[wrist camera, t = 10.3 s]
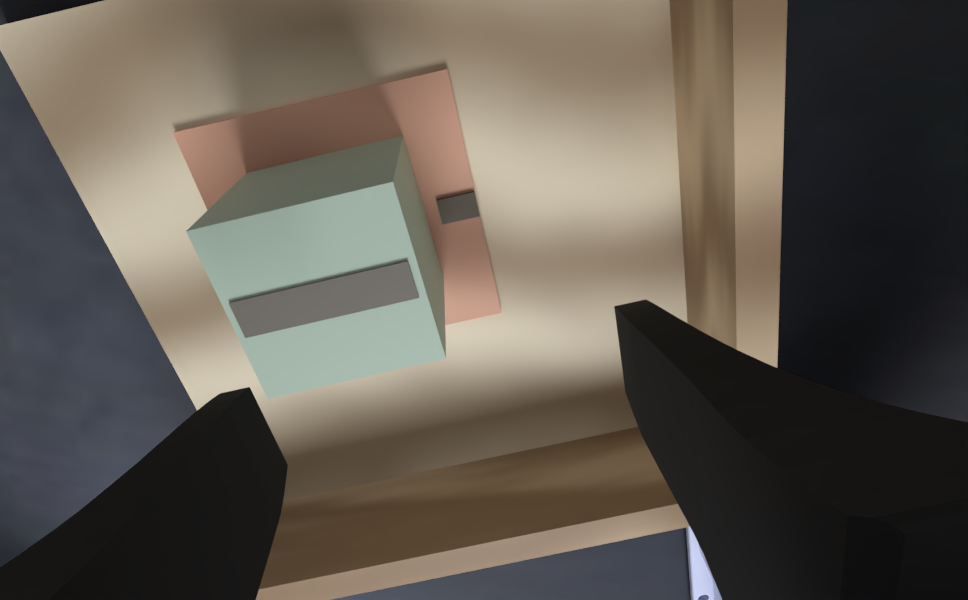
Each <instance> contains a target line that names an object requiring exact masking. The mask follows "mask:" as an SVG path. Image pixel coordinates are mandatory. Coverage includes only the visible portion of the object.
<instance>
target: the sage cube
mask: <svg viewBox="0 0 968 600" xmlns="http://www.w3.org/2000/svg"><path fill="white" fill-rule="evenodd" d="M186 232H187V234H188V237H189V239H190V241H191V243H192V245H193V247H194V249H195V251H196V253H197V255H198V257H199V259H200V261H201V263H202V265H203V267H204V269H205V271H206V273H207V275H208V277H209V280H210V282H211V284H212V286H213V288H214V290H215V292H216V294H217V296H218V298H219V300H220V302H221V304H222V306H223V308H224V310H225V312H226V314H227V316H228V318H229V320H230V323H231V325H232V327H233V329H234V331H235V333H236V335H237V337H238V339H239V341H240V343H241V345H242V347H243V349H244V351H245V353H246V355H247V357H248V359H249V361H250V363H251V366H252V368H253V370H254V372H255V374H256V376H257V378H258V380H259V382H260V384H261V386H262V388H263V390H264V392H265V394H266V396H267V398H268V399H269V398H274V397H278V396H283V395H287V394H291V393H296V392H300V391H305V390H309V389H314V388H318V387H322V386H327V385H331V384H336V383H340V382H344V381H349V380H353V379H358V378H362V377H366V376H371V375H375V374H380V373H384V372H389V371H393V370H397V369H402V368H406V367H411V366H415V365H419V364H424V363H428V362H433V361H437V360H441V359H446V335H445V296H444V277H443V274H442V270H441V266H440V263H439V259H438V256H437V252H436V249H435V245H434V242H433V238H432V235H431V231H430V227H429V224H428V220H427V217H426V213H425V210H424V206H423V203H422V199H421V196H420V192H419V188H418V185H417V181H416V178H415V174H414V171H413V167H412V164H411V160H410V157H409V153H408V149H407V146H406V142H405V139H404V135H402V136H398V137H393V138H389V139H385V140H381V141H377V142H373V143H369V144H364V145H360V146H356V147H352V148H348V149H344V150H340V151H336V152H331V153H327V154H323V155H319V156H315V157H311V158H307V159H303V160H298V161H294V162H290V163H286V164H282V165H278V166H274V167H270V168H265V169H261V170H257V171H253V172H249V173H246V174H245V175H244V176H243V177H242V178H241V179H240V180H238V181H237V182H236V183H235V184H234V185H233V186H232V187H231V188H230V189H229V190H228V191H227V192H226V193H225V194H224V195H223V196H222V197H221V198H220V199H219V200H218V201H217V202H216V203H215V204H214V205H213V206H212V207H211V208H210V209H208V210H207V211H206V212H205V213H204V214H203V215H202V216H201V217H200V218H199V219H198V220H197V221H196V222H195V223H194V224H193V225H192V226H191V227H190V228H189V229H188V230H187V231H186Z"/></svg>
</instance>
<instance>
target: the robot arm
mask: <svg viewBox="0 0 968 600" xmlns="http://www.w3.org/2000/svg"><path fill="white" fill-rule="evenodd" d="M614 308H615V316H616V324H617V331H618V339H619V347H620V355H621V362H622V370H623V378H624V385H625V393H626V395H627V398H628V401H629V403H630V406H631V409H632V412H633V414H634V417H635V420H636V422H637V425H638V427H639V430H640V433H641V435H642V437H643V439H644V441H645V443H646V445H647V447H648V449H649V451H650V453H651V454H652V456H653V458H654V460H655V462H656V464H657V466H658V468H659V470H660V471H661V473H662V475H663V477H664V479H665V481H666V483H667V484H668V486H669V488H670V490H671V492H672V494H673V496H674V498H675V499H676V501H677V503H678V505H679V507H680V509H681V511H682V512H683V514H684V516H685V518H686V520H687V522H688V524H689V526H690V527H686V537H687V551H688V565H689V579H690V594H691V600H968V422H963V421H958V420H954V419H949V418H944V417H939V416H934V415H929V414H925V413H920V412H916V411H912V410H908V409H904V408H900V407H895V406H891V405H888V404H884V403H881V402H877V401H874V400H870V399H866V398H863V397H859V396H856V395H852V394H849V393H845V392H842V391H839V390H836V389H833V388H830V387H827V386H824V385H821V384H818V383H815V382H813V381H810V380H807V379H805V378H802V377H799V376H796V375H794V374H791V373H788V372H786V371H783V370H781V369H778V368H776V367H774V366H771V365H769V364H766V363H764V362H762V361H760V360H758V359H756V358H753V357H751V356H749V355H747V354H745V353H743V352H740V351H738V350H736V349H734V348H732V347H730V346H728V345H726V344H724V343H722V342H720V341H719V340H717V339H715V338H713V337H711V336H709V335H707V334H706V333H704V332H702V331H700V330H698V329H697V328H695V327H693V326H691V325H689V324H688V323H686V322H684V321H683V320H681V319H679V318H677V317H676V316H674V315H672V314H671V313H669V312H667V311H666V310H664V309H662V308H661V307H659V306H657V305H655V304H654V303H652V302H650V301H648V300H646V299H645V300H641V301H636V302H632V303H627V304H623V305H618V306H614ZM287 468H288V464H287V462H286V460H285V458H284V456H283V454H282V452H281V450H280V448H279V446H278V444H277V442H276V440H275V438H274V436H273V434H272V432H271V430H270V428H269V426H268V424H267V421H266V419H265V417H264V415H263V413H262V411H261V409H260V407H259V405H258V403H257V401H256V399H255V397H254V395H253V393H252V391H251V389H250V387H247V388H243V389H238V390H234V391H229V392H225V393H220V394H218V395H217V396H216V397H214V398H213V399H211V400H210V401H209V402H207V403H206V404H205V405H204V406H202V407H201V408H200V409H199V410H197V411H196V412H195V413H194V414H193V415H191V416H190V417H189V418H188V419H187V420H186V421H185V422H183V423H182V424H181V425H180V426H179V427H178V428H177V429H175V430H174V431H173V432H172V433H171V434H170V435H169V436H167V437H166V438H165V439H164V440H163V441H162V442H161V443H159V444H158V445H157V446H156V447H155V448H154V449H153V450H152V451H150V452H149V453H148V454H147V455H146V456H145V457H144V458H142V459H141V460H140V461H139V462H138V463H137V464H136V465H134V466H133V467H132V468H131V469H130V470H128V471H127V472H126V473H125V474H124V475H122V476H121V477H120V478H119V479H118V480H116V481H115V482H114V483H113V484H112V485H110V486H109V487H108V488H107V489H106V490H104V491H103V492H102V493H101V494H99V495H98V496H97V497H96V498H95V499H93V500H92V501H91V502H90V503H89V504H87V505H86V506H85V507H84V508H82V509H81V510H80V511H79V512H77V513H76V514H75V515H73V516H72V517H71V518H69V519H68V520H67V521H65V522H64V523H63V524H61V525H60V526H59V527H58V528H56V529H55V530H53V531H52V532H51V533H49V534H48V535H46V536H45V537H44V538H42V539H41V540H39V541H38V542H37V543H35V544H34V545H33V546H31V547H30V548H28V549H27V550H26V551H24V552H23V553H21V554H20V555H18V556H17V557H15V558H14V559H12V560H11V561H9V562H8V563H6V564H5V565H3V566H2V567H0V600H256V597H257V594H258V590H259V587H260V584H261V580H262V577H263V574H264V570H265V567H266V564H267V560H268V557H269V554H270V550H271V547H272V543H273V540H274V536H275V533H276V529H277V526H278V522H279V519H280V515H281V511H282V504H283V498H284V492H285V484H286V476H287Z"/></svg>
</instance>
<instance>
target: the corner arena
mask: <svg viewBox="0 0 968 600" xmlns="http://www.w3.org/2000/svg"><path fill="white" fill-rule="evenodd" d="M786 36H787V0H104V1H100V2H96V3H91V4H87V5H83V6H79V7H75V8H71V9H66V10H62V11H58V12H54V13H50V14H46V15H41V16H37V17H33V18H29V19H25V20H21V21H16V22H12V23H8V24H4V25H0V50H1V52H2V54H3V56H4V58H5V60H6V61H7V63H8V65H9V67H10V69H11V71H12V72H13V74H14V76H15V78H16V80H17V82H18V83H19V85H20V87H21V89H22V91H23V93H24V94H25V96H26V98H27V100H28V102H29V103H30V105H31V107H32V109H33V111H34V113H35V114H36V116H37V118H38V120H39V122H40V124H41V125H42V127H43V129H44V131H45V133H46V135H47V136H48V138H49V140H50V142H51V144H52V146H53V147H54V149H55V151H56V153H57V155H58V157H59V158H60V160H61V162H62V164H63V166H64V168H65V169H66V171H67V173H68V175H69V177H70V179H71V180H72V182H73V184H74V186H75V188H76V189H77V191H78V193H79V195H80V197H81V199H82V200H83V202H84V204H85V206H86V208H87V210H88V211H89V213H90V215H91V217H92V219H93V221H94V222H95V224H96V226H97V228H98V230H99V232H100V233H101V235H102V237H103V239H104V241H105V243H106V244H107V246H108V248H109V250H110V252H111V254H112V255H113V257H114V259H115V261H116V263H117V265H118V266H119V268H120V270H121V272H122V274H123V276H124V277H125V279H126V281H127V283H128V285H129V286H130V288H131V290H132V292H133V294H134V296H135V297H136V299H137V301H138V303H139V305H140V307H141V308H142V310H143V312H144V314H145V316H146V318H147V319H148V321H149V323H150V325H151V327H152V329H153V330H154V332H155V334H156V336H157V338H158V340H159V341H160V343H161V345H162V347H163V349H164V351H165V352H166V354H167V356H168V358H169V360H170V362H171V363H172V365H173V367H174V369H175V371H176V373H177V374H178V376H179V378H180V380H181V382H182V383H183V385H184V387H185V389H186V391H187V393H188V394H189V396H190V398H191V400H192V402H193V404H194V405H195V407H196V409H197V410H199V409H200V408H201V407H202V406H204V405H205V404H206V403H207V402H209V401H210V400H211V399H213V398H214V397H216V396H217V395H218V394H220V393H225V392H229V391H234V390H238V389H243V388H247V387H250V389H251V391H252V393H253V395H254V397H255V399H256V401H257V403H258V405H259V407H260V409H261V411H262V413H263V415H264V417H265V419H266V421H267V424H268V426H269V428H270V430H271V432H272V434H273V436H274V438H275V440H276V442H277V444H278V446H279V448H280V450H281V452H282V454H283V456H284V458H285V460H286V462H287V464H288V468H287V476H286V484H285V492H284V498H283V504H282V511H281V515H280V519H279V522H278V526H277V529H276V533H275V536H274V540H273V543H272V547H271V550H270V554H269V557H268V560H267V564H266V567H265V570H264V574H263V577H262V580H261V584H260V587H259V590H258V594H257V597H256V600H331V599H336V598H341V597H345V596H350V595H355V594H360V593H365V592H370V591H375V590H380V589H385V588H390V587H395V586H400V585H405V584H409V583H414V582H419V581H424V580H429V579H434V578H439V577H444V576H449V575H454V574H459V573H464V572H469V571H473V570H478V569H483V568H488V567H493V566H498V565H503V564H508V563H513V562H518V561H523V560H528V559H533V558H537V557H542V556H547V555H552V554H557V553H562V552H567V551H572V550H577V549H582V548H587V547H592V546H597V545H601V544H606V543H611V542H616V541H621V540H626V539H631V538H636V537H641V536H646V535H651V534H656V533H661V532H665V531H670V530H675V529H680V528H685V527H690V526H689V524H688V522H687V520H686V518H685V516H684V514H683V512H682V511H681V509H680V507H679V505H678V503H677V501H676V499H675V498H674V496H673V494H672V492H671V490H670V488H669V486H668V484H667V483H666V481H665V479H664V477H663V475H662V473H661V471H660V470H659V468H658V466H657V464H656V462H655V460H654V458H653V456H652V454H651V453H650V451H649V449H648V447H647V445H646V443H645V441H644V439H643V437H642V435H641V433H640V430H639V427H638V425H637V422H636V420H635V417H634V414H633V412H632V409H631V406H630V403H629V401H628V398H627V395H626V393H625V385H624V378H623V370H622V362H621V355H620V347H619V339H618V331H617V324H616V316H615V308H614V306H618V305H623V304H627V303H632V302H636V301H641V300H645V299H646V300H648V301H650V302H652V303H654V304H655V305H657V306H659V307H661V308H662V309H664V310H666V311H667V312H669V313H671V314H672V315H674V316H676V317H677V318H679V319H681V320H683V321H684V322H686V323H688V324H689V325H691V326H693V327H695V328H697V329H698V330H700V331H702V332H704V333H706V334H707V335H709V336H711V337H713V338H715V339H717V340H719V341H720V342H722V343H724V344H726V345H728V346H730V347H732V348H734V349H736V350H738V351H740V352H743V353H745V354H747V355H749V356H751V357H753V358H756V359H758V360H760V361H762V362H764V363H766V364H769V365H771V366H774V367H776V368H777V365H778V328H779V291H780V255H781V218H782V182H783V145H784V109H785V72H786ZM402 135H404V139H405V142H406V146H407V149H408V153H409V157H410V160H411V164H412V167H413V171H414V174H415V178H416V181H417V185H418V188H419V192H420V196H421V199H422V203H423V206H424V210H425V213H426V217H427V220H428V224H429V227H430V231H431V235H432V238H433V242H434V245H435V249H436V252H437V256H438V259H439V263H440V266H441V270H442V274H443V277H444V296H445V335H446V359H441V360H437V361H433V362H428V363H424V364H419V365H415V366H411V367H406V368H402V369H397V370H393V371H389V372H384V373H380V374H375V375H371V376H366V377H362V378H358V379H353V380H349V381H344V382H340V383H336V384H331V385H327V386H322V387H318V388H314V389H309V390H305V391H300V392H296V393H291V394H287V395H283V396H278V397H274V398H269V399H268V398H267V396H266V394H265V392H264V390H263V388H262V386H261V384H260V382H259V380H258V378H257V376H256V374H255V372H254V370H253V368H252V366H251V363H250V361H249V359H248V357H247V355H246V353H245V351H244V349H243V347H242V345H241V343H240V341H239V339H238V337H237V335H236V333H235V331H234V329H233V327H232V325H231V323H230V320H229V318H228V316H227V314H226V312H225V310H224V308H223V306H222V304H221V302H220V300H219V298H218V296H217V294H216V292H215V290H214V288H213V286H212V284H211V282H210V280H209V277H208V275H207V273H206V271H205V269H204V267H203V265H202V263H201V261H200V259H199V257H198V255H197V253H196V251H195V249H194V247H193V245H192V243H191V241H190V239H189V237H188V234H187V232H186V231H187V230H188V229H189V228H190V227H191V226H192V225H193V224H194V223H195V222H196V221H197V220H198V219H199V218H200V217H201V216H202V215H203V214H204V213H205V212H206V211H207V210H208V209H210V208H211V207H212V206H213V205H214V204H215V203H216V202H217V201H218V200H219V199H220V198H221V197H222V196H223V195H224V194H225V193H226V192H227V191H228V190H229V189H230V188H231V187H232V186H233V185H234V184H235V183H236V182H237V181H238V180H240V179H241V178H242V177H243V176H244V175H245V174H246V173H249V172H253V171H257V170H261V169H265V168H270V167H274V166H278V165H282V164H286V163H290V162H294V161H298V160H303V159H307V158H311V157H315V156H319V155H323V154H327V153H331V152H336V151H340V150H344V149H348V148H352V147H356V146H360V145H364V144H369V143H373V142H377V141H381V140H385V139H389V138H393V137H398V136H402Z"/></svg>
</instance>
